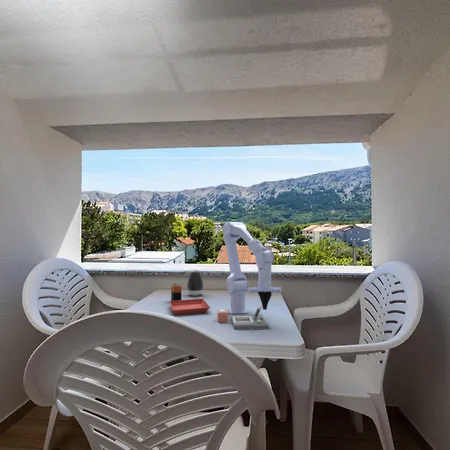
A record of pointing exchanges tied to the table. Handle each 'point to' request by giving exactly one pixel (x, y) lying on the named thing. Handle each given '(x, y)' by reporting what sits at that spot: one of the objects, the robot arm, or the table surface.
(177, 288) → the battery
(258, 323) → the panel
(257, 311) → the lever
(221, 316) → the pink cube
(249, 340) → the table surface
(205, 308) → the plant saucer
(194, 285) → the dark grey egg shape
